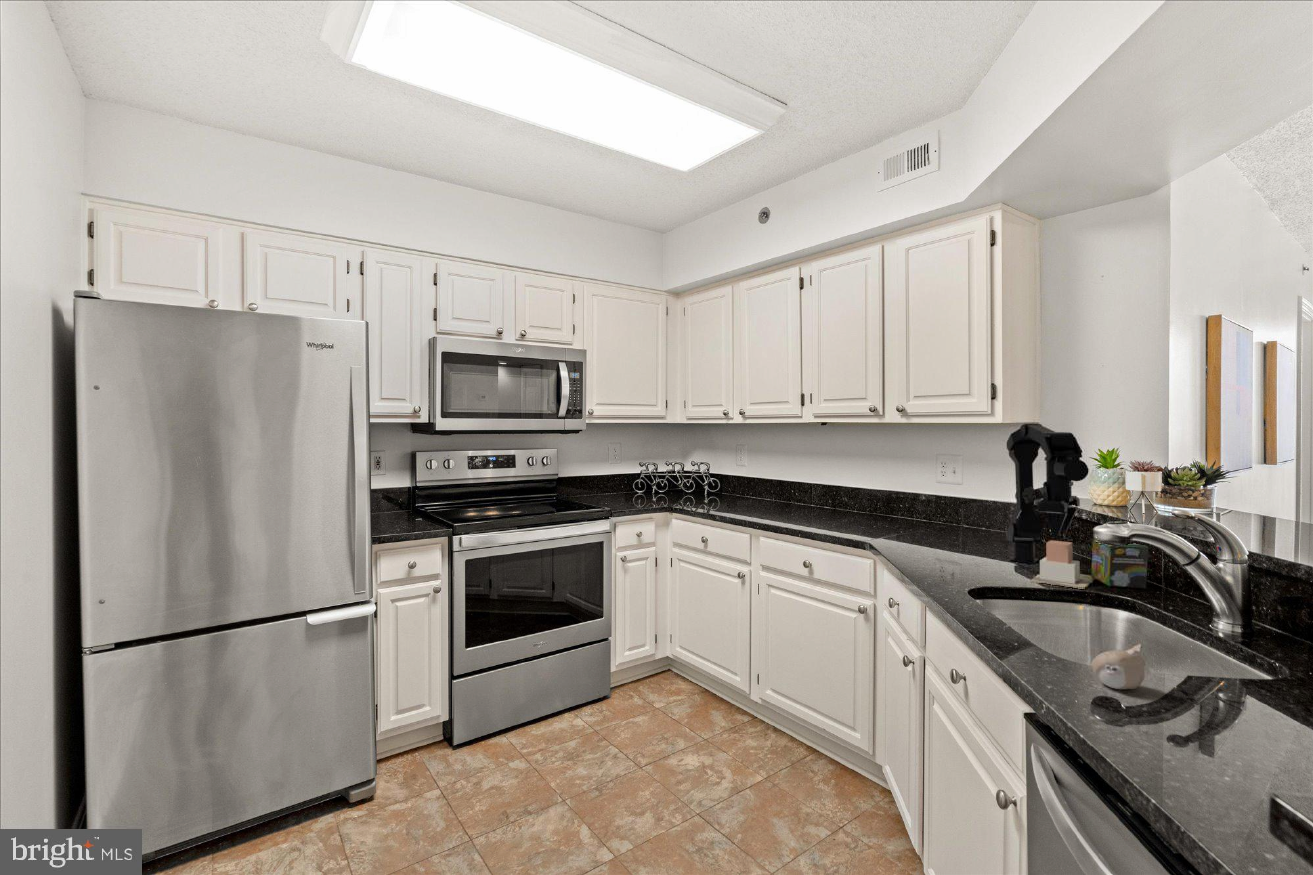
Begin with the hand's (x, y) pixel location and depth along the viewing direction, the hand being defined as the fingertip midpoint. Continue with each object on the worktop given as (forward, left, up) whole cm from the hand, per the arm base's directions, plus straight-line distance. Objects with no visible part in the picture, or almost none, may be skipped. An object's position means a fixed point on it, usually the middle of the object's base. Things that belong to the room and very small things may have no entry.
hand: (1059, 534), depth 164 cm
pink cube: (0, 0, -7) cm, 7 cm away
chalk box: (-7, +12, -13) cm, 19 cm away
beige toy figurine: (+70, +23, -13) cm, 75 cm away
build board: (-2, 0, -13) cm, 13 cm away
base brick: (0, 0, -12) cm, 12 cm away
